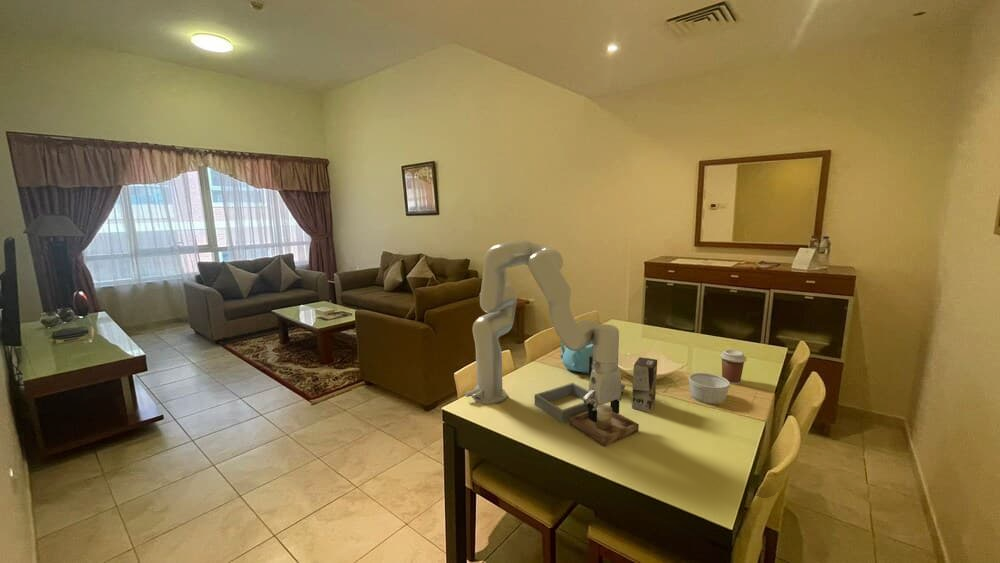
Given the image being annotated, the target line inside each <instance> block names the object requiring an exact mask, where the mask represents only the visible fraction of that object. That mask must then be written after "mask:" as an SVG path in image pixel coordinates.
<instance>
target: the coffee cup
mask: <svg viewBox="0 0 1000 563" xmlns="http://www.w3.org/2000/svg"><path fill="white" fill-rule="evenodd" d="M719 357H720V358H721V377H723V378H725V379H726V380H728V381H729V383H730V385H740V384H741V380H742V375H743V371H744V365H745V362H747V359H748V358H747V357H746V356H745V353H743V351H740V350H737V349H731V348H729V349H724V350H723V352H722V353H720V355H719Z"/></svg>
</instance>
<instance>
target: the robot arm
mask: <svg viewBox="0 0 1000 563" xmlns="http://www.w3.org/2000/svg"><path fill="white" fill-rule="evenodd" d="M522 265H525V266H527V268H528V270H529V272H530V273H531V275H532V277H533V278H534V281H535V283H536V284H537V285H538V287H539V289H540V291H541V292H542V294H543V295H544V297H545V299H546V301H547V304H548V313H549V317H550V322H551V324H552V326H553V330H554V331H555V332H556V334H557V336H558V338H559V340H560V341H561V344H562V343H563V344H564V347H566V348H568V349H570V350H572V351H580V350H582V349H584V348H585V347H586V346H588V345H590V344H593V365H592V372H591V377H589V388H588V391H589V392H588V393H587V394H586V395H585V396H584V397H583V400H582V401H583V402H584V403H585V405H586V406H587V408H588V418H589V419H590V420H591V421H593V422H595V423H596V422H597V410H596V408H597V406H598V405H599V404H600V405H603V404H604V405H607V404H608V403H610V405H609V406H610V407H612V411H613V412H615V413H617V414H618V413H619V414H620V402H621V400H622V396H623V395H624V391H625V388H626V385H625V384H622V377H621V376H622V375H621V370H620V367H619V345H620V343H619V342H620V341H619V340H620V330H619V328H618V327H617V326H615V325H611V324H600V323H598V322H595V321H592V320H587V319H583V320H580V321H578V322H577V321H576V320H575V318H574V316H573V313H572V312H571V307H570V303H571V302H570V300H571V295H572V288H571V286H570V284H569V283H568V281H567V279H566V277H565V276H564V274H563V273H562V271H561V269H562V267H563V265H564V260H563V257H562V255H561V253H560V252H559V251H558V250H556V249H554V248H552V247H548V246H546V245H542V244H538V243H536V242H533V241H529V240H516V241H508V242H507V241H506V242H502V243H498V244H495V245H493V246H492V247H490V248H489V249H488V250H487V251H486V253H485V255H484V259H483V272H482V273H483V275H482V278H481V279H482V280H481V287H480V295H479V296H480V297H479V306H480V308H481V310H482V311H483V312H484V313H485V314H483V315H481V316H479V317H478V318H477V319H475V321H474V322H473V324H472V335H473V340H474V346H475V365H476V366H475V368H476V370H475V371H476V385H474V387H473V389H472V390H468V391H465V392H464V396H465V397H466V398H469V397H471V399H473V400H474V401H475V402H477V403H479V404H483V405H495V404H499V403H502V402H503V401H505V400H506V399H507V396H508V395H507V393H508V392H507V391H506V390H505V389H503V358H502V357H503V354H502V346H501V344H500V341H499V338H500V337H502V336H504V335H506V334H507V333H509V332H510V331H511V330H512V328H513V325H514V321H515V313H516V308H517V301H518V300H517V298H518V295H517V291H516V288H515V287H514V286H513V285H512V284H510V283H508V281H507V280H508V274H507V270H506V269H508V268H512V267H518V266H522ZM589 400H590V401H589ZM593 401H594V402H595V404H594V405H592V403H593Z"/></svg>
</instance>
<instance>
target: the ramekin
mask: <svg viewBox="0 0 1000 563" xmlns="http://www.w3.org/2000/svg"><path fill="white" fill-rule="evenodd" d="M688 381H689V383H688V384H689V393H690V395H691V397H692V398H693V399H695V400H696V401H699V402H700V403H704V404H711V405H719V404H723V403H724V402H725V401H726V399H727V397H728V391H729V389H730V388H731V387H730V386H731V384H730V383H729V381H728V380H726V379H725V378H723V377H722V375H721V376H720V375H717V374H715V373H708V372H695V373H691V374H690V375H689V376H688Z"/></svg>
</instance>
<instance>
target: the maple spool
mask: <svg viewBox="0 0 1000 563" xmlns="http://www.w3.org/2000/svg"><path fill="white" fill-rule="evenodd" d="M596 410H597V422H596V423H595V425H596V427H597V428H599V429H602V430H609V429H611V427H612V407H610V405H608V404H603V405H598V406H597V408H596Z"/></svg>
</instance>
